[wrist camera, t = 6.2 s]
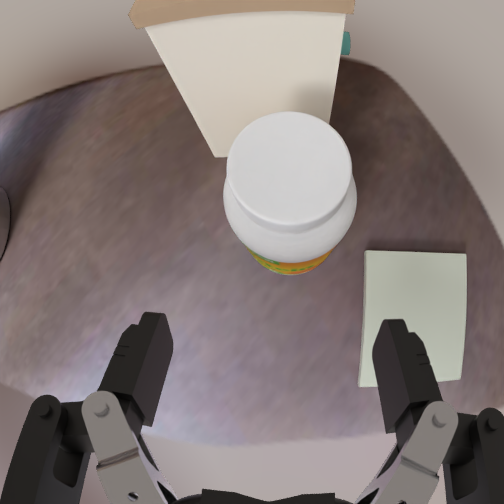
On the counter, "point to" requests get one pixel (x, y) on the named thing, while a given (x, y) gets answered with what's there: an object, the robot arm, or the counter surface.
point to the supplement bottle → (289, 190)
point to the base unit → (248, 57)
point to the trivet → (416, 306)
